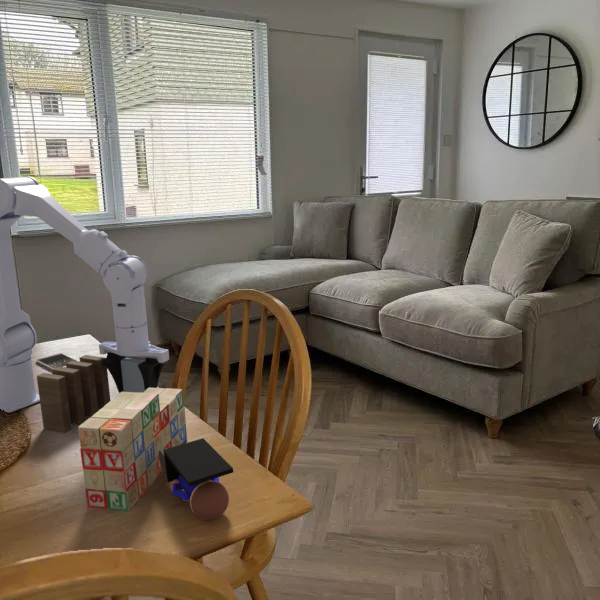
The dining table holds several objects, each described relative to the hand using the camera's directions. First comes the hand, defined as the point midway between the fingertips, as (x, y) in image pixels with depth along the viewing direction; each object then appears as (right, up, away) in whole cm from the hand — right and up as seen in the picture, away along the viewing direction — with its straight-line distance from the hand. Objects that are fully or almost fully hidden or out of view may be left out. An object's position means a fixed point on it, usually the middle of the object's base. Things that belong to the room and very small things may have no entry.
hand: (137, 393), depth 112 cm
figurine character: (+16, -10, -28) cm, 34 cm away
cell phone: (-26, +2, +28) cm, 38 cm away
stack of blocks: (+6, -9, -21) cm, 23 cm away
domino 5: (0, -3, +1) cm, 3 cm away
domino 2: (-11, -5, -3) cm, 12 cm away
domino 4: (-8, -3, +3) cm, 9 cm away
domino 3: (-10, -4, 0) cm, 10 cm away
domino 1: (-12, -5, -6) cm, 15 cm away
